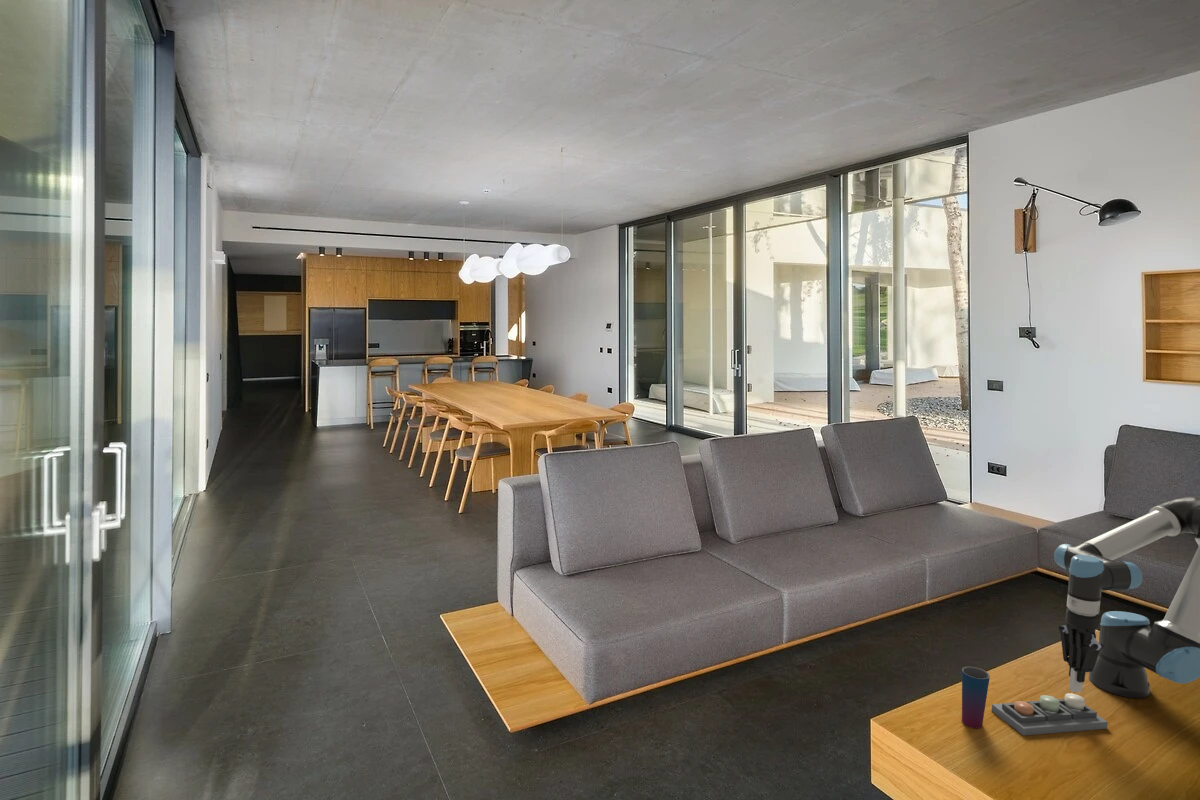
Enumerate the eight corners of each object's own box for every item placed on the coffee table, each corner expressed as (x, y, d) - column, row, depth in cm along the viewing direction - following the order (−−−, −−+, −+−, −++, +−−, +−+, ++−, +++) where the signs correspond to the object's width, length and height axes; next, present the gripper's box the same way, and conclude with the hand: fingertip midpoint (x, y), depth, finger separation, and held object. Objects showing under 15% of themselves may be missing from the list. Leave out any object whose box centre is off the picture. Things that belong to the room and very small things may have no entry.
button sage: (1049, 702, 193) (1050, 694, 193) (1063, 711, 188) (1063, 703, 188) (1035, 703, 192) (1036, 695, 192) (1048, 712, 188) (1049, 704, 188)
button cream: (1074, 700, 194) (1075, 692, 194) (1088, 709, 190) (1089, 701, 189) (1060, 701, 194) (1061, 693, 193) (1073, 710, 189) (1074, 702, 189)
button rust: (1024, 708, 192) (1025, 700, 192) (1037, 717, 188) (1037, 709, 187) (1010, 709, 191) (1010, 701, 191) (1022, 718, 187) (1022, 710, 187)
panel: (1071, 704, 199) (1072, 693, 198) (1107, 728, 187) (1108, 716, 186) (991, 710, 195) (992, 699, 195) (1022, 735, 183) (1023, 723, 183)
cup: (989, 731, 185) (993, 680, 183) (962, 728, 186) (966, 677, 184) (980, 717, 191) (984, 667, 190) (955, 714, 193) (958, 665, 191)
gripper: (1052, 602, 194) (1045, 679, 197) (1090, 621, 182) (1083, 704, 184) (1075, 601, 196) (1068, 677, 198) (1115, 620, 183) (1107, 702, 185)
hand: (1075, 690), depth 191 cm, fingers closed
